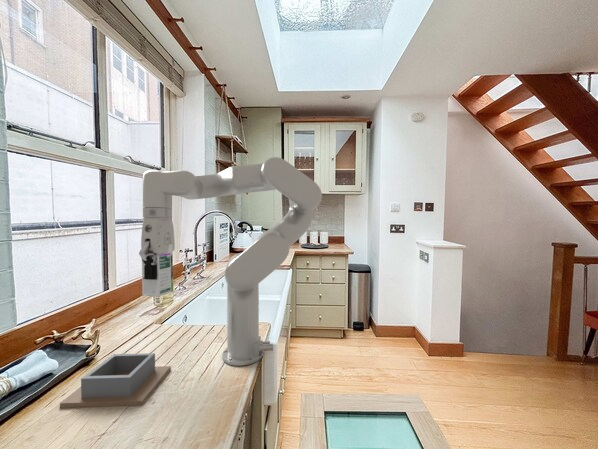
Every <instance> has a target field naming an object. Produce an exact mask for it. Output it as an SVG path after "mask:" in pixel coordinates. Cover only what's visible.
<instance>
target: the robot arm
mask: <svg viewBox="0 0 598 449" xmlns="http://www.w3.org/2000/svg"><path fill="white" fill-rule="evenodd" d="M275 190H276V191H278V192H279V193H281V194H282V195H283V196H284V197H286V198H287V199H288V202H289V209H288V212H287V213H286V214H285V215H284V216H283V217H282V218H281V219H279V221H278V222H276V223H275V224H273V226H272V225H271V227H269V229H267V230H265V232H262V233H261V234H260V235H259V236H258V237H257V238H256V241H255V242H254V243H252V244H250V246H248V248H245V249H244V251H243V252H239V253H235V254H234V255H233V256H231V258H230V259H229V260H228V262H227V264H226V267H225V271H224V279H225V282H226V286H227V287H226V289H227V292H226V295H227V296H226V308H227V309H226V313H227V314H226V315H227V316H226V323H227V324H226V326H227V327H226V328H227V330H226V331H227V335H226V338H227V343H226V345H227V347H226V348H225V349H223V352H222V354H221V355H222V356H221V357H222V362H224V363H226V364H227V365H231V366H235V367H236V366H237V367H238V366H239V367H240V366H241V367H243V366H249V365H251V364H254V363H257V362H258V361H260V360H261V359H262V358H263V357H264V354H265V351H266V352H267V351H269V352H272V351H274V343H271V341H269V340H266V341H263V340H262V339H261V338H262V337H261V336H260V334H259V333H260V328H259V327H260V326H259V324H260V322H259V318H260V315H259V313H260V312H259V311H260V309H259V308H260V307H259V306H260V302H259V301H260V300H259V299H260V296H259V295H260V294H259V284H260V283H261V282H262V281H264V280H265V279H266V278H267V277H269V276H270V275H271V274H272V273H273V272H275V271H276V269H278V268H279V267H280V266H281V265H282V264H283V263H284V262H285V261H286V259H288V258H287V257H288V256H289V253H290V248H291V246H292V245H294V244H295V243H296V242H297V241H298V240H300V239H301V238H302V237H303V236H304V234H306V233H307V231H308V230H309V229H310V227H311V224H312V221H313V218H314V209H315V208H317V207H318V206H319V205H320V204H321V201H322V198H323V193H322V190H321V188H320V186H319V185H318V184H317V183H316V182H315V181H314V180H312V179H311V178H310V177H309V176H308V175H306V174H305V173H303V172H302V171H301V170H299V169H298V168H297V167H295V166H294V165H292V164H291V163H290V162H289V161H287V160H286V159H284V158H282V157H276V156H273V157H270V158H267V159H266V160H265V161H264V162H263V163H254V164H252V163H251V164H241V165H232V166H229V167H228V168H226V169H224V170H222V171H220V172H218V173H214V174H212V173H211V174H206V175H194V173H192V172H191V171H188V170H182V169H181V170H172V171H164V170H163V171H162V170H146V171H145V172H144V173H143V176H142V220H143V221H142V227H141V237H140V238H141V240H140V246H141V247H140V248H141V249H140V251H139V252H138V255H139V257H140V258H141V262H142V261H143V265H144V279H146V280H155V279H157V265H155V263H156V256H157V255H162V254H165V253H167V252H168V248H169V244H172V251H173V252H174V251H175V250H176V249H175V247H176V246H175V244H176V243H175V229H174V224H173V223H174V222H173V196H176V197H179V198H183V199H186V200H192V201H193V200H201V199H202V200H203V199H210V198H219V197H225V196H234V195H235V196H236V195H240V194H248V193H249V194H250V193H258V192H268V191H275ZM149 252H154V253H149ZM156 254H157V255H156ZM151 257H153V258H152V259H151Z"/></svg>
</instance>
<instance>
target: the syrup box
mask: <svg viewBox="0 0 598 449" xmlns="http://www.w3.org/2000/svg"><path fill="white" fill-rule="evenodd" d="M149 253H154V252H149ZM173 253H174V251H172V244H169V248H168V252H167V253H165V254H162V255H157V254H156V255H157V256H156V263H155V265H157V279H155V280H146V279H144V265H143V261H142V260H141V287H142V290H141V291H142V292H141V293H142V296H145V297H150V298H151V297H152V298H153V297H154V298H157V297H158V298H160V297H162V296H165V295H167V294H171V293H173V292H174V266H173V265H174V264H173V258H174V257H173ZM152 258H153V257H151V259H152Z"/></svg>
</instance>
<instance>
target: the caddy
mask: <svg viewBox="0 0 598 449" xmlns="http://www.w3.org/2000/svg"><path fill="white" fill-rule="evenodd" d="M171 368H172V367H171V365H168V366H167V365H165V366H164V365H163V366H156V353H155V352H152V353H114V354H112V355H111V356H110V357H108V358H106V360H104V361H103V362H101V363H100V364H99V365H97V366H96V367H95V368H93V369H92V370H91V371H90V372H88V373H86V374H85V375H84V376H83V377H82V378H81V379H80V387H78V388H77V389H76V390H75V391H73V392H72V393H71V394H70V395H68V396H67V397H66V398H64V399H63V400H62V401H60V402H59V408H60V409H61V408H62V409H65V408H66V409H67V408H94V407H95V408H96V407H98V408H99V407H129V406H131V407H132V406H133V407H134V406H143V404H144V403H145V402H146V401H147V400H148V399H149V397H150V396H151V395H152V393H154V391H155V390H156V389H157V388H158V386H159V385H160V384H161V382H163V380H164V378H165V377H166V376H167V375H168V374H169V373H170V371H171Z"/></svg>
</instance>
